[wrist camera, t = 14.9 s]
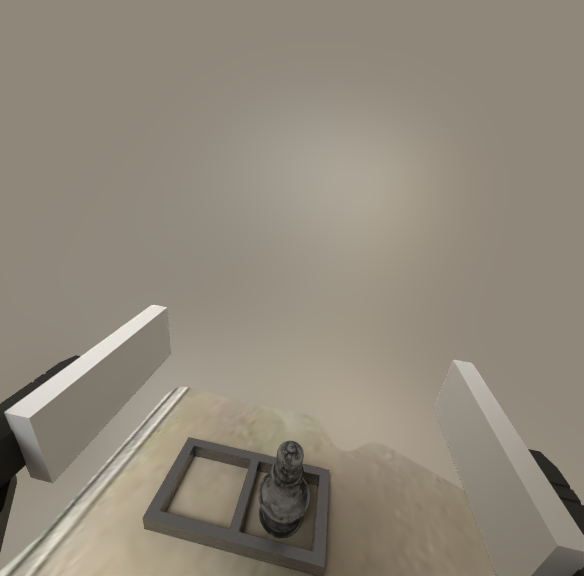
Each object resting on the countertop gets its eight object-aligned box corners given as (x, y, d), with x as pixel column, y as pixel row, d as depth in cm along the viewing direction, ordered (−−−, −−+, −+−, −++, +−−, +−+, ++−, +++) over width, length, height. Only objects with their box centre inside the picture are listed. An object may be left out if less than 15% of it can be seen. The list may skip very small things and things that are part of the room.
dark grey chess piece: (246, 518, 33) (251, 448, 28) (275, 476, 38) (283, 409, 33) (289, 554, 31) (303, 483, 26) (314, 504, 35) (330, 436, 31)
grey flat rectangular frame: (327, 479, 38) (329, 470, 38) (322, 577, 29) (325, 567, 28) (189, 447, 40) (188, 437, 40) (144, 528, 31) (142, 518, 31)
